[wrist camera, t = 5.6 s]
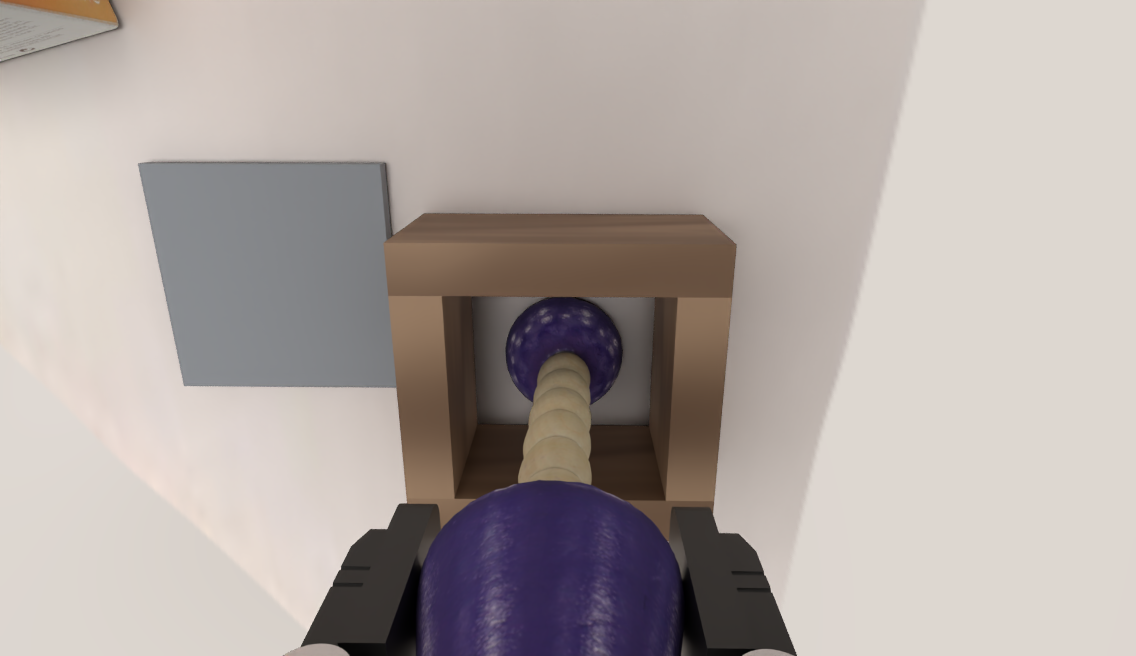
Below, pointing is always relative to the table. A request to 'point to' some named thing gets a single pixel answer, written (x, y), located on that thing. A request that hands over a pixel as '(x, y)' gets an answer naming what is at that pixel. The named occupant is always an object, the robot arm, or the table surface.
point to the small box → (50, 23)
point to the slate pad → (274, 271)
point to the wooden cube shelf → (560, 269)
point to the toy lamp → (553, 524)
